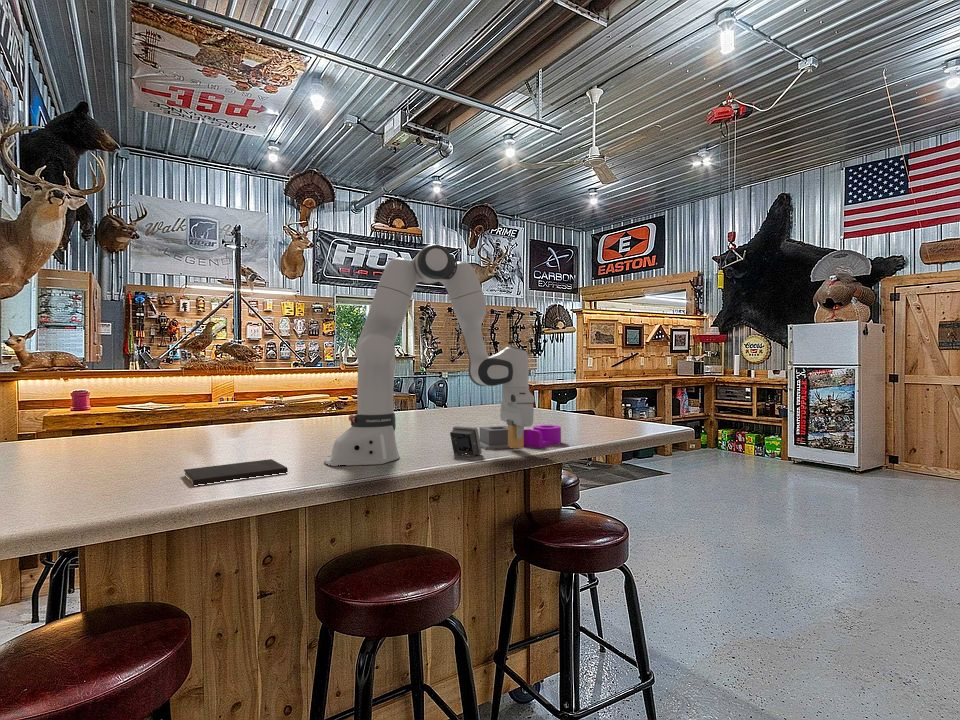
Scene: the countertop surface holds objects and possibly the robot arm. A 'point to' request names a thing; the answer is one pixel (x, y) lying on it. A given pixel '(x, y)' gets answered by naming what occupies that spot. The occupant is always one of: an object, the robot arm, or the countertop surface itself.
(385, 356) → the robot arm
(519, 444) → the tan jar
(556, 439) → the tape dispenser
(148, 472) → the countertop surface
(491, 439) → the socket
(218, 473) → the hardcover book
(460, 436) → the electrical switch
